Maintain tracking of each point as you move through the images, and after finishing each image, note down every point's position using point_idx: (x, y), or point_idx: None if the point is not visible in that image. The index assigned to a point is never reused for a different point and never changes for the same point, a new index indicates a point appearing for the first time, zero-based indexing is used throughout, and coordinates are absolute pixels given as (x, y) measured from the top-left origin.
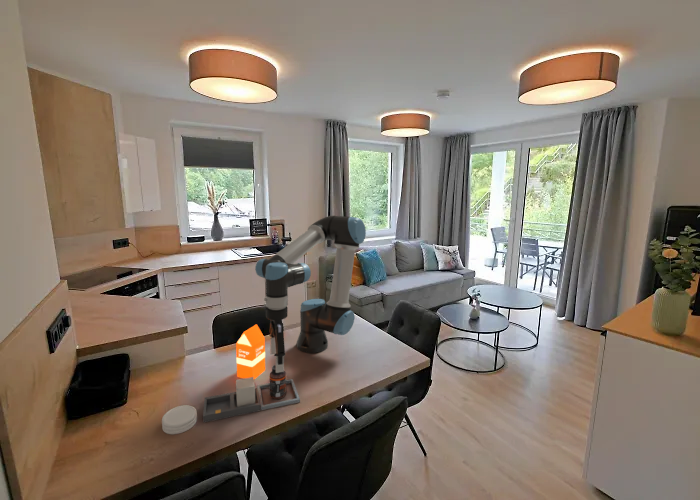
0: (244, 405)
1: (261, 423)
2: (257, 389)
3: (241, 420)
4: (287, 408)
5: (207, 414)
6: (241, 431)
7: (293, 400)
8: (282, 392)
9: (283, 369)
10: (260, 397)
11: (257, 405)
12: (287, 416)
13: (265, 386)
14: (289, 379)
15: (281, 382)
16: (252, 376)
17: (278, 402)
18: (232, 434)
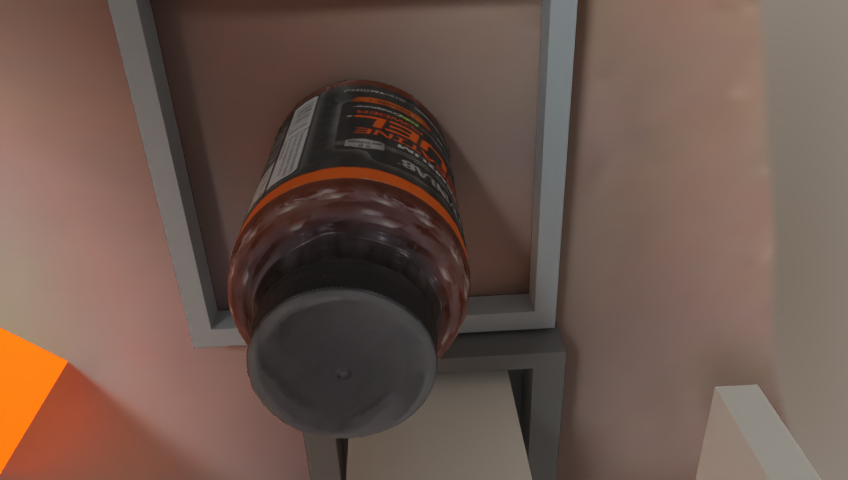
0: (529, 454)
1: (713, 310)
2: None
3: (610, 426)
4: (620, 88)
5: None
6: None
7: (575, 23)
8: (440, 145)
9: (781, 425)
10: None
11: (563, 368)
12: (737, 104)
13: (203, 268)
14: (113, 7)
15: (457, 218)
16: (47, 394)
17: (549, 183)
18: None
